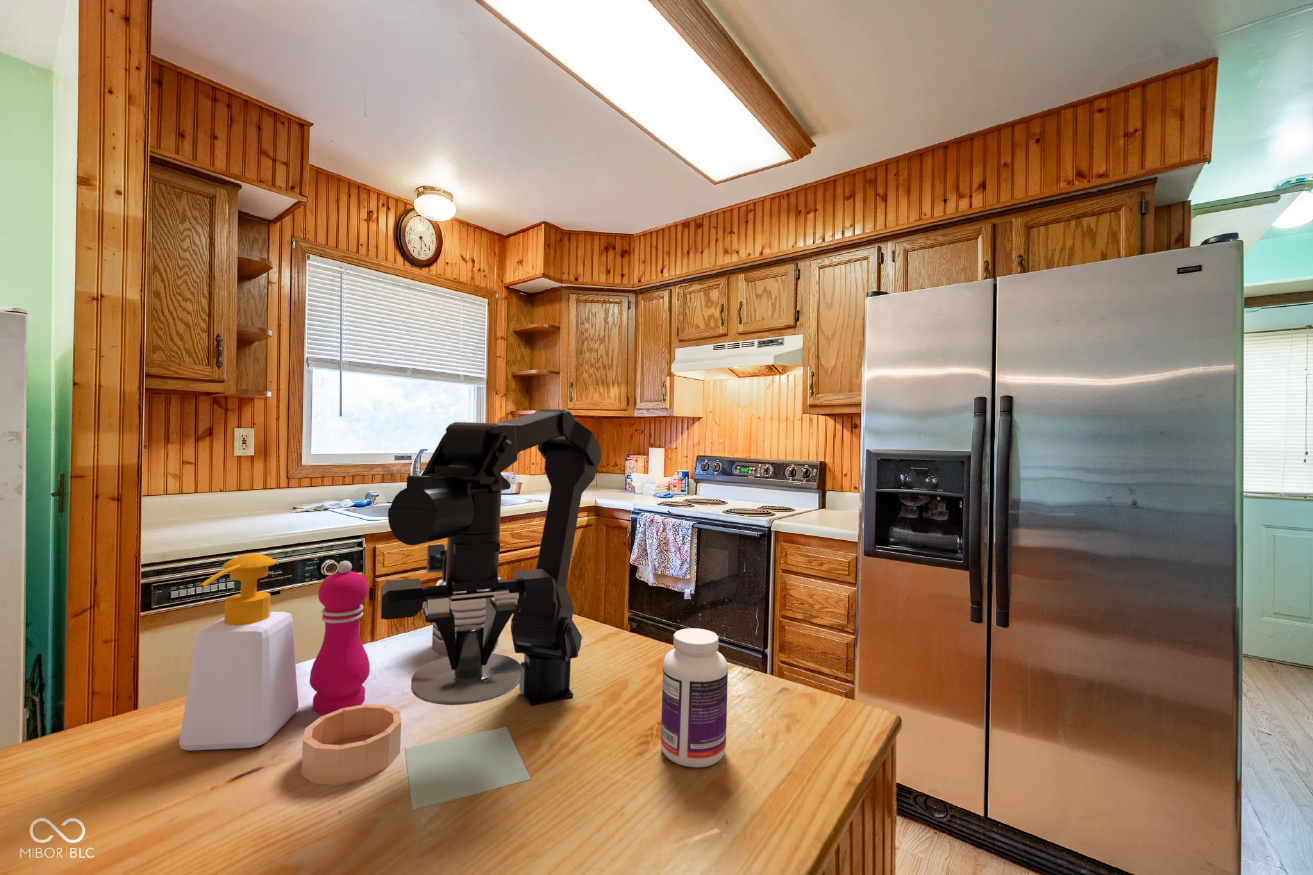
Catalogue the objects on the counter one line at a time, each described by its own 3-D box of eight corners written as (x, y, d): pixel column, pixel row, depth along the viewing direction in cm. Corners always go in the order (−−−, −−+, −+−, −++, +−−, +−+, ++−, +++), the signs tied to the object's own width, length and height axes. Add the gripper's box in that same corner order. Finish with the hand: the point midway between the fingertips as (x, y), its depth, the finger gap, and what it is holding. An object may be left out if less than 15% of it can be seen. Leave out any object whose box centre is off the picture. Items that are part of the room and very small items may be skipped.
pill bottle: (731, 742, 69) (735, 630, 70) (717, 778, 62) (722, 652, 62) (671, 729, 72) (675, 621, 72) (650, 762, 65) (655, 641, 65)
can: (512, 645, 99) (514, 579, 99) (460, 665, 90) (463, 593, 90) (469, 631, 105) (472, 569, 105) (417, 649, 96) (420, 581, 96)
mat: (506, 729, 71) (506, 726, 71) (530, 781, 60) (530, 778, 60) (405, 750, 65) (405, 748, 65) (412, 812, 54) (412, 809, 54)
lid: (508, 653, 71) (510, 608, 71) (533, 692, 60) (535, 639, 60) (407, 668, 65) (409, 619, 65) (415, 714, 54) (417, 656, 54)
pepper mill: (341, 721, 71) (347, 568, 71) (295, 714, 72) (300, 564, 73) (380, 696, 78) (385, 557, 78) (336, 690, 80) (342, 553, 80)
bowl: (397, 729, 70) (398, 698, 70) (401, 772, 61) (402, 736, 61) (307, 747, 65) (308, 713, 65) (297, 796, 56) (299, 757, 56)
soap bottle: (142, 779, 58) (151, 571, 58) (224, 714, 72) (231, 546, 72) (241, 774, 60) (250, 571, 60) (302, 711, 73) (309, 546, 73)
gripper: (535, 518, 74) (530, 632, 74) (382, 523, 65) (376, 653, 65) (560, 531, 64) (555, 663, 64) (384, 539, 56) (378, 692, 55)
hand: (468, 666), depth 63 cm, fingers closed on lid, 3 cm apart
